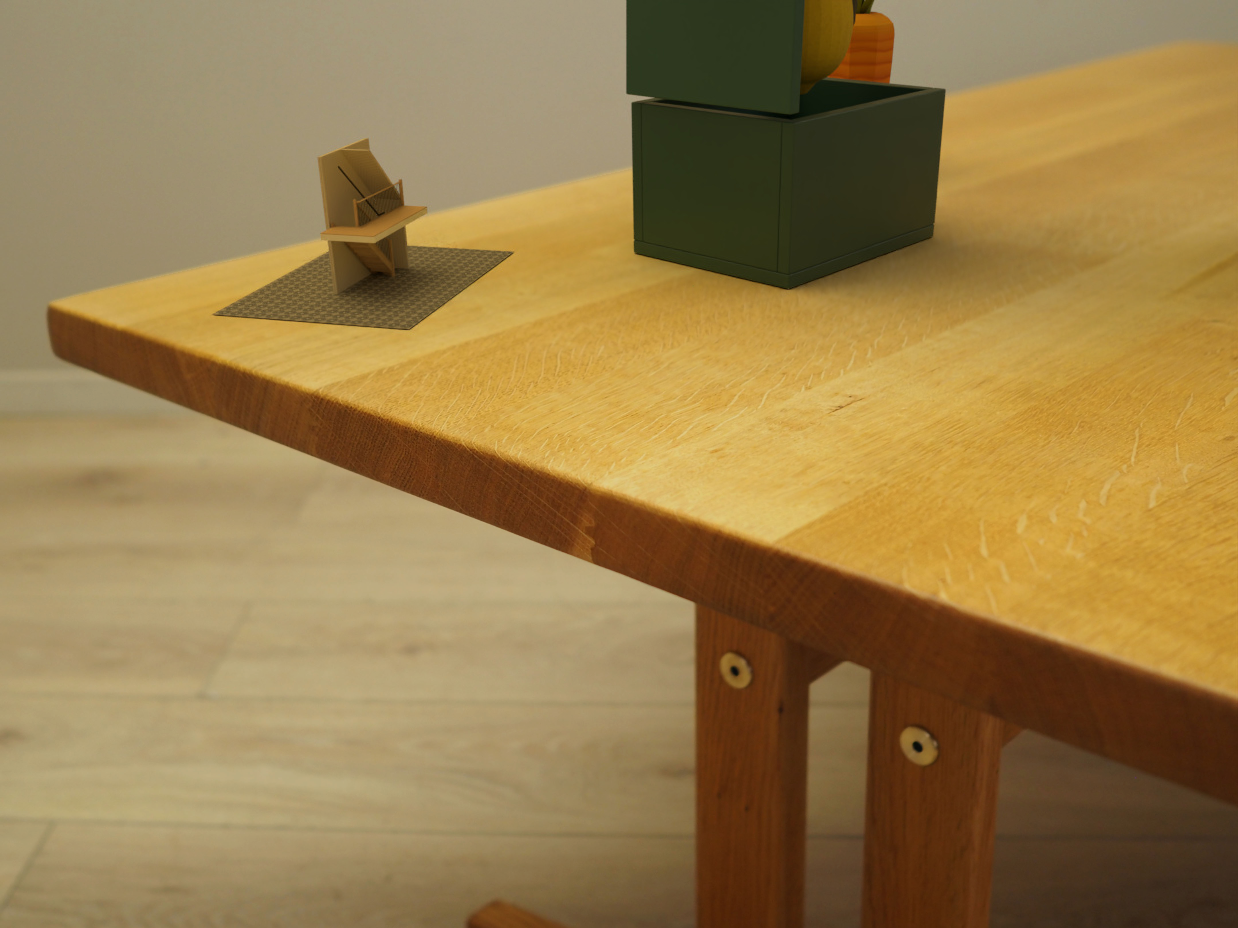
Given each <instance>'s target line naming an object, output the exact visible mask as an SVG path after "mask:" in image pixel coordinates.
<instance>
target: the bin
mask: <svg viewBox="0 0 1238 928" xmlns="http://www.w3.org/2000/svg"><path fill="white" fill-rule="evenodd" d="M946 92H947V90H946V88H943V87H932V86H931V87H930V86H923V85H910V84H900V83H881V82H871V81H861V80H850V79H840V78H830V77H826V78H824V79H822V80H820V81H818V82H817V83H815V85H814V86H813V87H812V88H811V89H810V90H809V91H808V92H807V93H806V94H803V95H800V100H799V113H795V114H782V113H773V112H765V111H757V110H749V109H741V108H733V107H725V106H717V105H709V104H701V103H693V102H685V101H677V100H669V99H661V98H653V97H650V98H646V99H641V100H636V101H631V102H630V103H631V105H630V107H631V109H630V110H631V111H630V112H631V161H632V162H631V166H632V170H631V171H632V221H633V223H632V226H633V227H632V228H633V253H634V254H638V255H641V256H647V257H650V258H654V259H659V260H663V261H667V262H671V263H677V264H680V265H685V266H688V267H694V268H696V269H701V270H707V271H710V272H714V273H719V274H722V275H727V276H731V277H735V278H740V279H743V280H748V281H752V282H757V283H761V284H765V285H770V286H773V287H778V288H782V289H787V290H789V289H792V288H794V287H797V286H800V285H803V284H806V283H808V282H809V283H810V282H811V281H814V280H816V279H817V280H818V279H819V278H822V277H825V276H828V275H831V274H833V273H836V272H839V271H841V270H845V269H847V268H851V267H853V266H856V265H858V264H861V263H864V262H867V261H869V260H873V259H875V258H878V257H880V256H883V255H886V254H889V253H891V252H895V251H897V250H900V249H902V248H905V247H908V246H910V245H913V244H916V243H918V242H921V241H925V240H926V239H929V238H932V237H934V234H935V222H936V210H937V198H938V188H939V176H940V164H941V163H940V162H941V151H942V150H941V149H942V141H943V140H942V138H943V127H944V116H945V115H944V114H945V105H946V104H945V103H946V94H947V93H946Z"/></svg>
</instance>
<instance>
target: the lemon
mask: <svg viewBox="0 0 1238 928" xmlns="http://www.w3.org/2000/svg"><path fill="white" fill-rule="evenodd" d="M852 31H853V4H852V0H805V7H804V26H803V44H802V63H801V82H800V95H803V94H806V93H807V92H808V91H809V90H810V89H811V88H812V87H813V86H814V85H815V83H817V82H818V81H820V80H822V79H824V78H826V77H828V76H829V75H830V74H832V73H833V72H834V71H835V70H836V69H837V68H838V66H839V65H840V64H841V62H842V60H843V59H844V57H845V55H846V53H847V50H848V48H849V45H850V41H851V37H852Z"/></svg>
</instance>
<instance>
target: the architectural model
mask: <svg viewBox="0 0 1238 928" xmlns="http://www.w3.org/2000/svg"><path fill="white" fill-rule="evenodd" d="M369 138H370V137H364V138H361V139H358V140H356V141H354V142H352V143H348V144H346V145H344V146H341V147H339V148H337V149H333V150H331V151H329V152H327V153H323V154H321V155H319V156H317V164H318V175H319V181H320V190H321V191H320V192H321V198H322V206H323V214H324V223H325V230H324V231H322V232H320V234H319V235H320V241H327V248H328V251H327V252H325V253H322V254H321V255H319V256H317V257H316V258H314V259H312V260H310V261H308V262H307V263H306V262H305V263H304V264H302V265H300V266H299V267H297V268H294V269H293V270H291V271H289V272H288V273H286V274H284V275H282V276H280V277H278V278H276V279H274V280H273V281H271V282H269V283H267V284H265V285H263V286H262V287H260V288H258V289H256V290H255V291H252V292H250V293H249V294H247V295H245V296H243V297H242V298H239V299H237V300H236V301H233V302H232V303H230V304H228V305H227V306H225V307H223V308H221V309H219V310H217V311H215V312H214V313H213V315H214V316H215V315H217V316H229V317H241V318H242V317H243V318H255V319H258V318H259V319H268V320H269V319H270V320H281V321H293V322H307V323H321V324H333V325H334V324H335V325H348V326H360V327H361V326H362V327H373V328H387V329H401V330H410V329H411V328H413V327H414V326H416V325H417V324H418V323H420V322H421V321H422V320H423V319H425V318H427V316H429V315H430V314H432V313H434V311H436V310H438V309H439V308H440V307H442V306H443V305H444V304H445V303H447V302H448V301H449V300H451V299H452V298H453V297H455V296H456V295H457V294H459V293H461V291H463V290H465V289H466V288H467V287H468V286H469V285H471V284H472V283H474V282H475V281H476V280H478V279H479V278H480V277H482V276H483V275H484V274H486V273H487V272H488V271H490V270H491V269H492V268H494V267H496V266H497V265H498V264H500V263H501V262H502V261H503V260H505V259H506V258H508V257H509V256H510V255H512V254H513V253H514V251H513V250H494V249H493V250H491V249H477V248H458V247H440V246H425V245H423V246H422V245H408V237H407V227H406V226H408V225H409V224H411V223H413V222H415V221H416V220H418V219H420V218H422V217H424V216H425V215H427V214H428V206H421V205H405V197H404V185H403V179H402V178H399V179H398V181H397V182H395V183H393V182H392V180H391V179H390V178H389V176H388V174H387V173H386V172H385V170H384V168H383V167H382V165H381V164H380V162H379V161H378V159H376V157H375V155H374V154H373V152H372V151H371V149H370V139H369Z"/></svg>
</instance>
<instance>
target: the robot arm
mask: <svg viewBox="0 0 1238 928" xmlns="http://www.w3.org/2000/svg"><path fill="white" fill-rule="evenodd" d="M857 3H858V0H852V4H853V25H854V24H855V19H856V10H857Z"/></svg>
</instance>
